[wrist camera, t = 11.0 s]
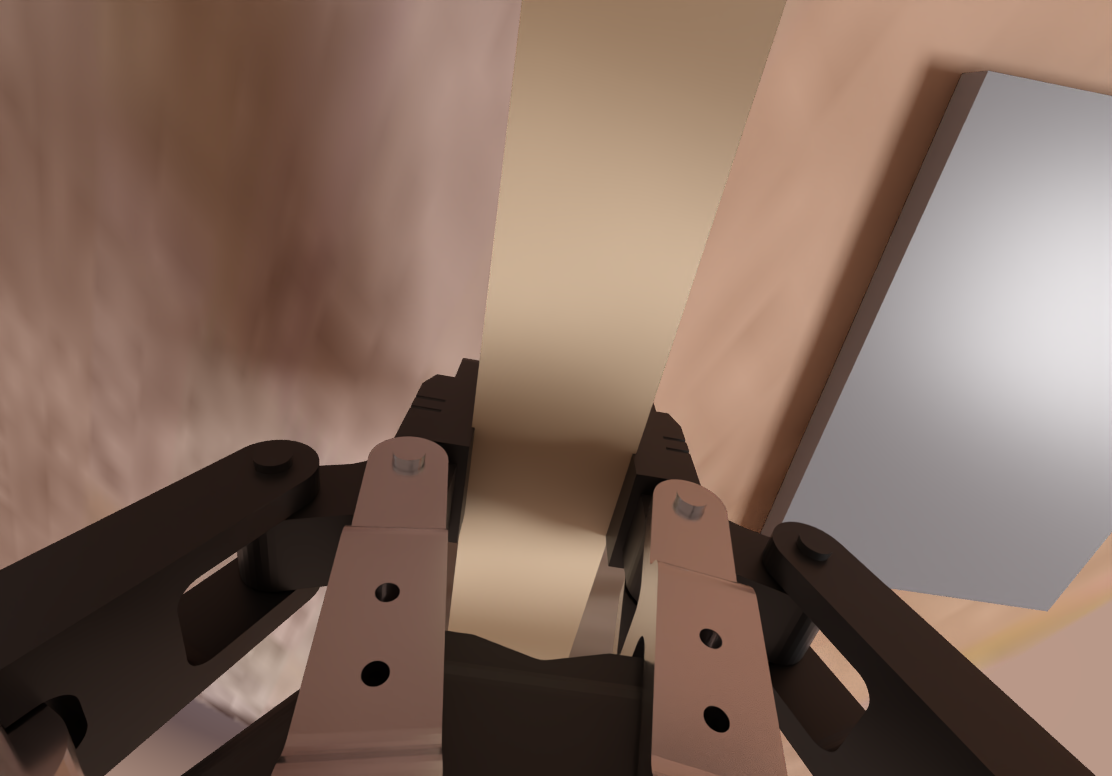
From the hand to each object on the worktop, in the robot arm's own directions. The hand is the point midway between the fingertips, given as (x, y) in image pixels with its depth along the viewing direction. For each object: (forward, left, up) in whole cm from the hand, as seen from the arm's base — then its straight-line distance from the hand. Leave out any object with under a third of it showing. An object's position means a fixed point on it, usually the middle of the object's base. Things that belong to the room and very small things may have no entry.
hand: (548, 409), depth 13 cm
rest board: (+1, +18, -9) cm, 20 cm away
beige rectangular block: (0, 0, -2) cm, 2 cm away
